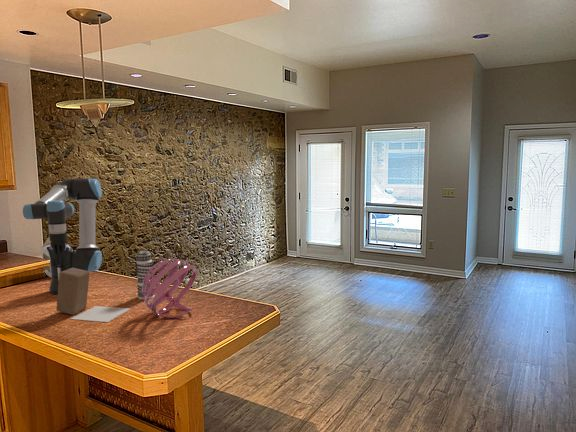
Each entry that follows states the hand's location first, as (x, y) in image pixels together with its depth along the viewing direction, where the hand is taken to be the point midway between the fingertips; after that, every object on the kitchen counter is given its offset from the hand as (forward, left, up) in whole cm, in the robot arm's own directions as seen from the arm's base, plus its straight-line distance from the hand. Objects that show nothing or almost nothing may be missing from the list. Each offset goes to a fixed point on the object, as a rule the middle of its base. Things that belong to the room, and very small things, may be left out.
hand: (61, 280), depth 214 cm
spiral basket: (-8, +54, -16) cm, 57 cm away
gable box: (-61, -57, -16) cm, 86 cm away
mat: (0, +21, -16) cm, 26 cm away
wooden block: (0, +4, -15) cm, 16 cm away
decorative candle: (-28, +28, -16) cm, 43 cm away
